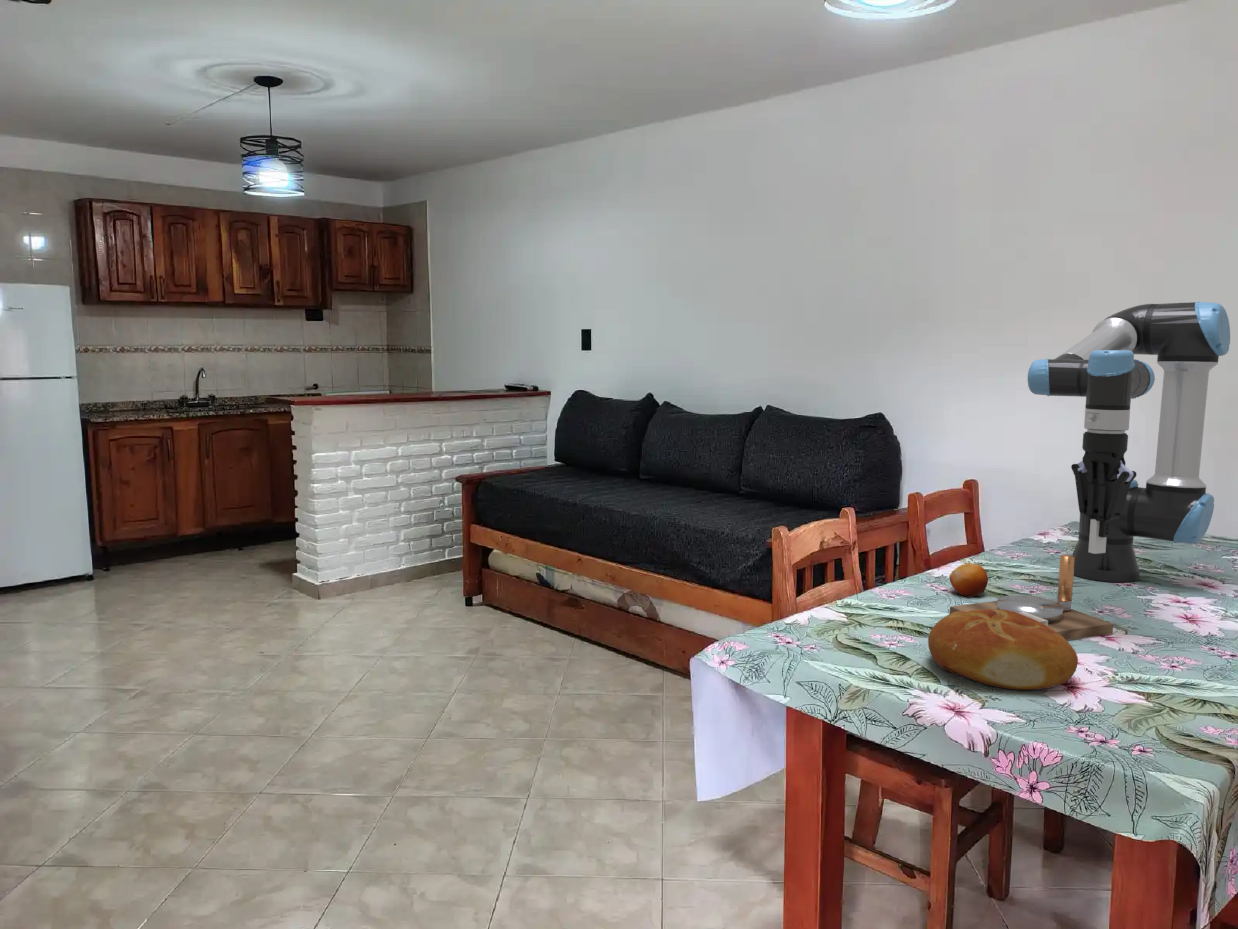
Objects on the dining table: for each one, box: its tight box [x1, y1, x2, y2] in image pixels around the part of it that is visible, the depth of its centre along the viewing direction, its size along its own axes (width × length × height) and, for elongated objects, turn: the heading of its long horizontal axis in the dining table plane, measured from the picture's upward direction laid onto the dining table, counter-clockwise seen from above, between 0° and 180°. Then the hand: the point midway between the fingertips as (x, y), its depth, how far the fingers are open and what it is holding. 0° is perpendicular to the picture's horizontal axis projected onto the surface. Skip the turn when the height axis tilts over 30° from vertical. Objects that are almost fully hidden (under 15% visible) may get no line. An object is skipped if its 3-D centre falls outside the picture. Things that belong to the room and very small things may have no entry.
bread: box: [927, 609, 1079, 691], centre depth 151 cm, size 23×23×10 cm
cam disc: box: [996, 554, 1075, 623], centre depth 176 cm, size 16×12×11 cm
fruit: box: [949, 562, 989, 597], centre depth 198 cm, size 8×8×8 cm
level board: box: [949, 595, 1114, 641], centre depth 176 cm, size 22×20×4 cm
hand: (1096, 552), depth 171 cm, fingers closed
